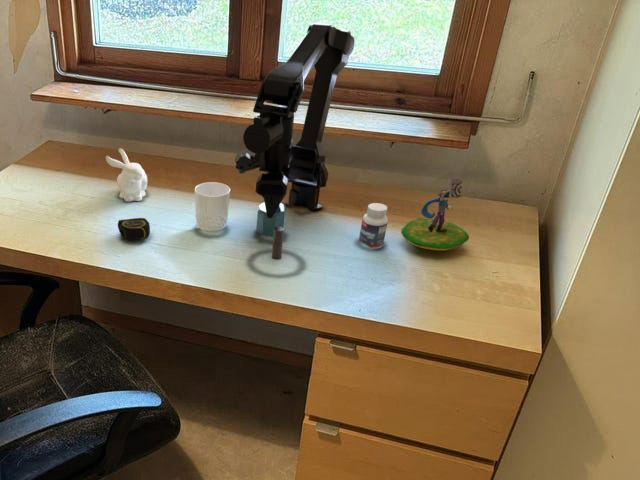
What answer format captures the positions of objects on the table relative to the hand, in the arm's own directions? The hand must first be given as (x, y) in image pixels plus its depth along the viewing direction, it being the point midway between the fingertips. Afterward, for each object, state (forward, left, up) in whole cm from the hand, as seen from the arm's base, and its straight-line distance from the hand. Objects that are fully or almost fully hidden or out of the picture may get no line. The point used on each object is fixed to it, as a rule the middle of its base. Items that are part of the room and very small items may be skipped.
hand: (271, 208), depth 151 cm
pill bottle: (-17, +14, -7) cm, 23 cm away
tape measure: (+27, -15, -7) cm, 32 cm away
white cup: (+10, -9, -7) cm, 15 cm away
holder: (+6, +11, -7) cm, 14 cm away
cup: (0, 0, -7) cm, 7 cm away
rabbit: (+18, -35, -7) cm, 40 cm away
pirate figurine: (-28, +21, -7) cm, 36 cm away
